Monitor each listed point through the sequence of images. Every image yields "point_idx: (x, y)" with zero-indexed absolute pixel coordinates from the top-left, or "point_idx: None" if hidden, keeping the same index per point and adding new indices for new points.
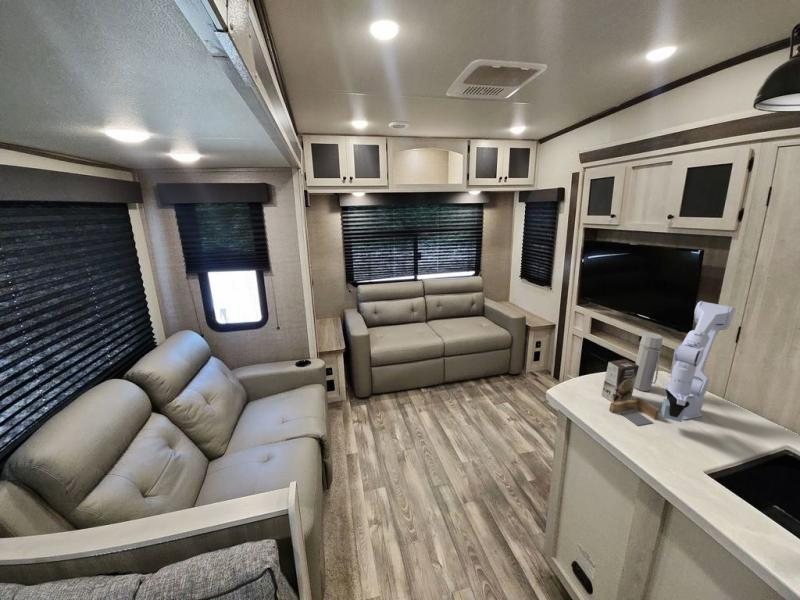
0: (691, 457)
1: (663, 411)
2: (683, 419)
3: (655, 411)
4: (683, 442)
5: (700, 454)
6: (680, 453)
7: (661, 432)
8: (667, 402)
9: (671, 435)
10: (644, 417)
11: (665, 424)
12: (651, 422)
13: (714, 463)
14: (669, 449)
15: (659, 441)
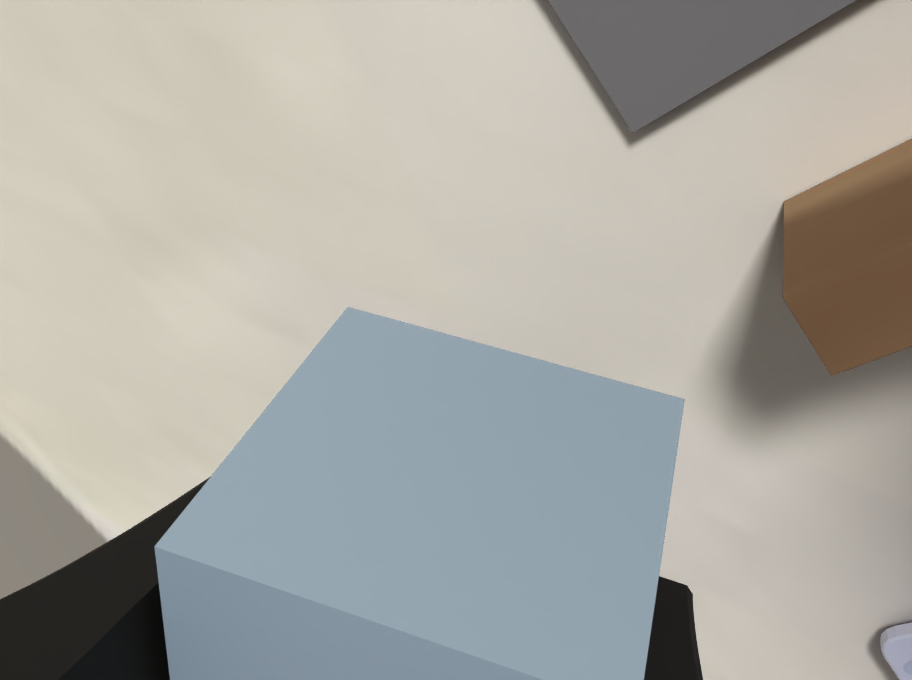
0: (28, 321)
1: (404, 394)
2: (882, 636)
3: (797, 283)
4: (278, 369)
5: (142, 433)
6: (23, 235)
7: (383, 175)
8: (373, 660)
9: (370, 290)
10: (781, 11)
11: (662, 330)
12: (619, 103)
13: (74, 479)
14: (17, 131)
15: (118, 55)
